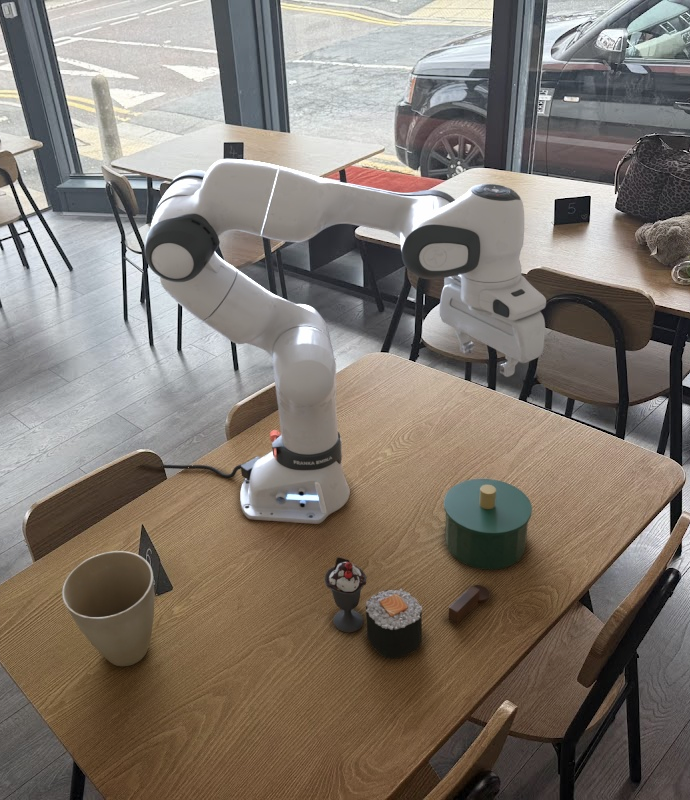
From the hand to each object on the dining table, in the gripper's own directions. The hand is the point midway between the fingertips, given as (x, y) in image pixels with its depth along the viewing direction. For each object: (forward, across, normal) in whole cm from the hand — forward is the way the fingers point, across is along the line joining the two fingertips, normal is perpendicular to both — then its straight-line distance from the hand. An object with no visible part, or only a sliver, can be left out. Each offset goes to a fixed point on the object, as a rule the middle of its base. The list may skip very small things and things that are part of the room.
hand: (486, 362), depth 131 cm
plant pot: (+34, -7, -70) cm, 78 cm away
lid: (+26, +6, -4) cm, 27 cm away
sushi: (+34, +15, -31) cm, 48 cm away
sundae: (+34, +8, -35) cm, 49 cm away
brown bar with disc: (+34, +16, -16) cm, 41 cm away
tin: (+34, +6, -4) cm, 35 cm away
